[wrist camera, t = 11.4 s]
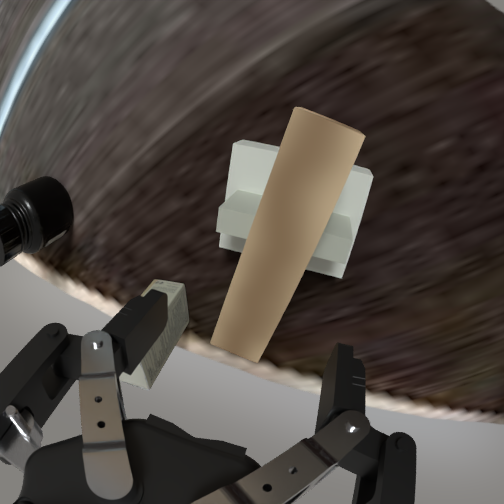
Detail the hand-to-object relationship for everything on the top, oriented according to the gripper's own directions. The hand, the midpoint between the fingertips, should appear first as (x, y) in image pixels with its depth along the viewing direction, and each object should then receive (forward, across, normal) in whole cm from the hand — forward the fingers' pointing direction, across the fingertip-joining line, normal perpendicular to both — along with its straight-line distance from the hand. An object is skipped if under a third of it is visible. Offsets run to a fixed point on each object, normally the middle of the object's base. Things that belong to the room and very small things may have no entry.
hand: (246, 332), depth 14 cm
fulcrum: (+19, 0, 0) cm, 19 cm away
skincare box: (+19, +12, +16) cm, 27 cm away
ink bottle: (+18, +32, +6) cm, 38 cm away
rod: (+11, 0, 0) cm, 11 cm away
